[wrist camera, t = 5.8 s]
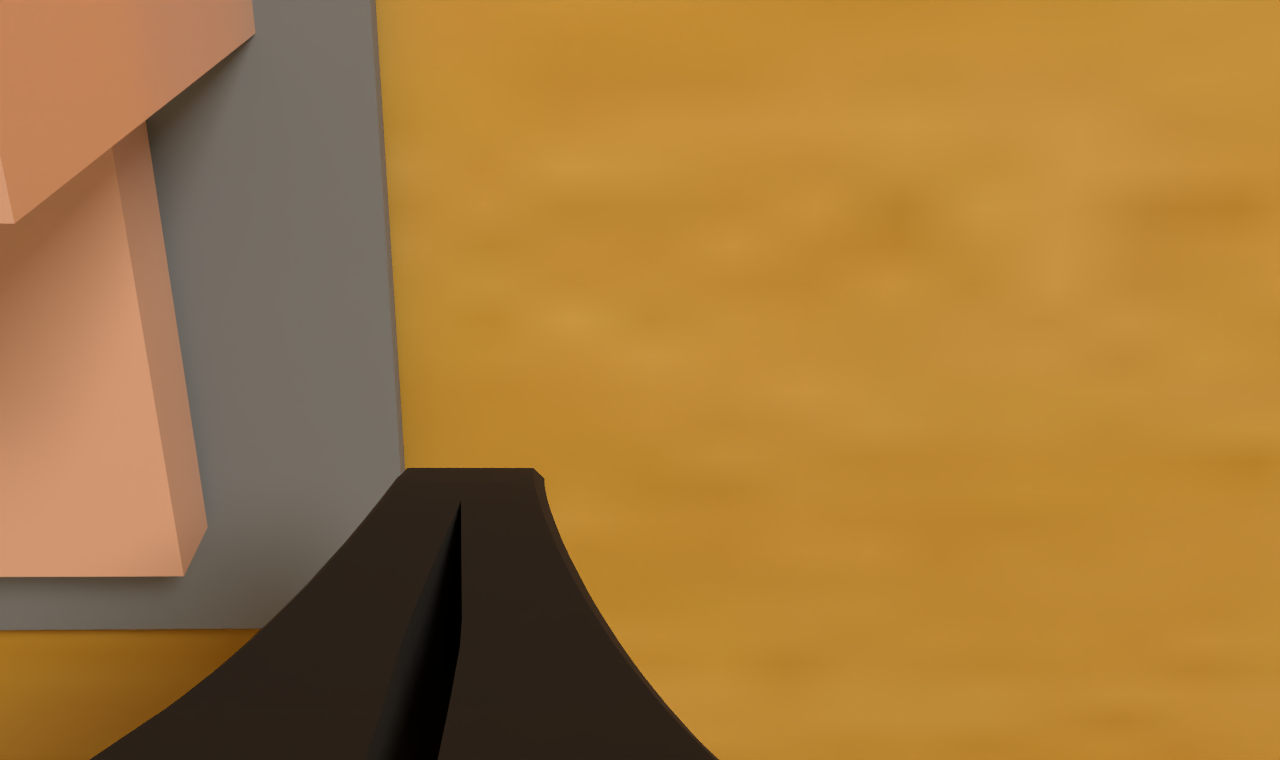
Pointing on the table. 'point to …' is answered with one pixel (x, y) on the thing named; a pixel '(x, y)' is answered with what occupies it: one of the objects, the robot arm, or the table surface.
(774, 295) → the table surface
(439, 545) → the robot arm
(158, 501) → the tile
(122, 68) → the tile
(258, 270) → the mat
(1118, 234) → the table surface
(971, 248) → the table surface
